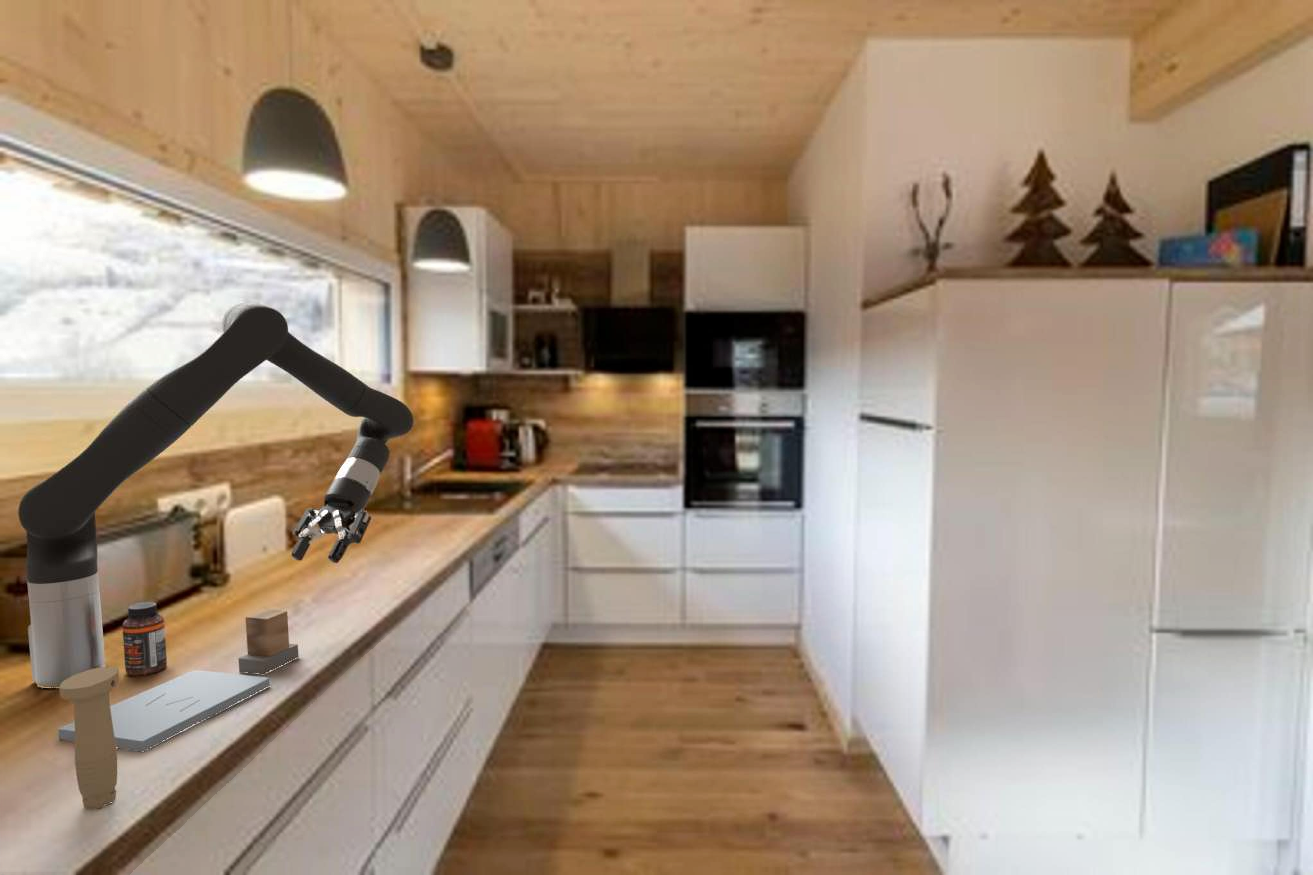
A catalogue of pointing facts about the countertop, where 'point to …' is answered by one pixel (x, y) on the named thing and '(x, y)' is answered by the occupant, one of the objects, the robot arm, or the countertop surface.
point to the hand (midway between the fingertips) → (314, 559)
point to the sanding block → (267, 642)
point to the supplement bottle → (144, 640)
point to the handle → (93, 734)
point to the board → (174, 707)
